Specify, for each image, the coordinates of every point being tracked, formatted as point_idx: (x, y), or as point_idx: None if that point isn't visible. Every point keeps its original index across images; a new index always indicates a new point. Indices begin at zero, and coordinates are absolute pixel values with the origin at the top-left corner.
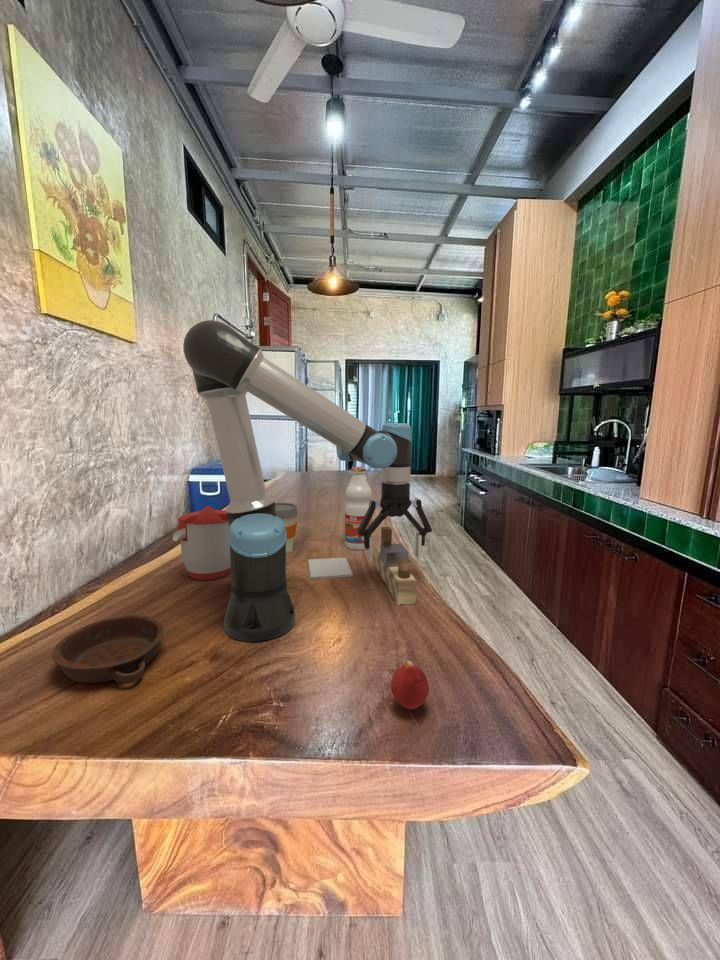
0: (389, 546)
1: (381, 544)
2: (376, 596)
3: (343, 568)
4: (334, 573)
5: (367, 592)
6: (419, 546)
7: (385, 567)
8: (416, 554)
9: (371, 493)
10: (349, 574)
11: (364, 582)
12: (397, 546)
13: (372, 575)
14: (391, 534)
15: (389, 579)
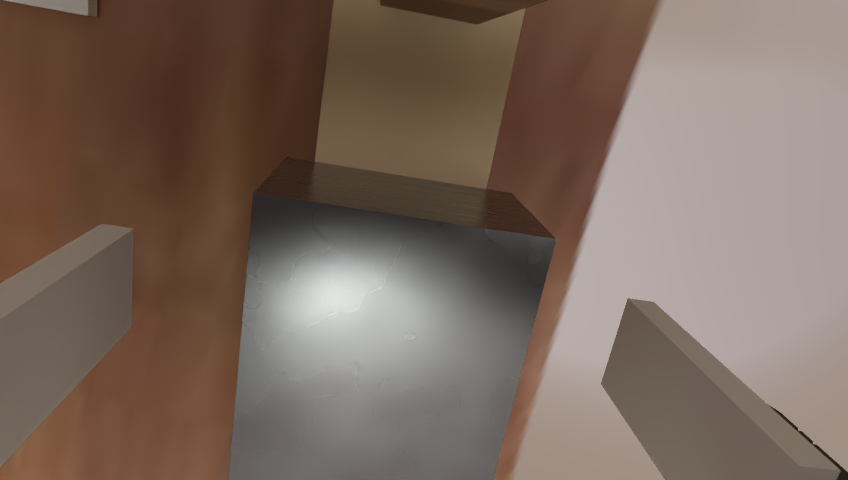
0: (347, 306)
1: (265, 200)
2: (200, 381)
3: None
4: None
5: (156, 318)
6: (666, 472)
7: None
8: (626, 342)
9: None
10: (56, 5)
11: (173, 162)
12: (449, 332)
13: (274, 49)
14: (534, 4)
15: None
